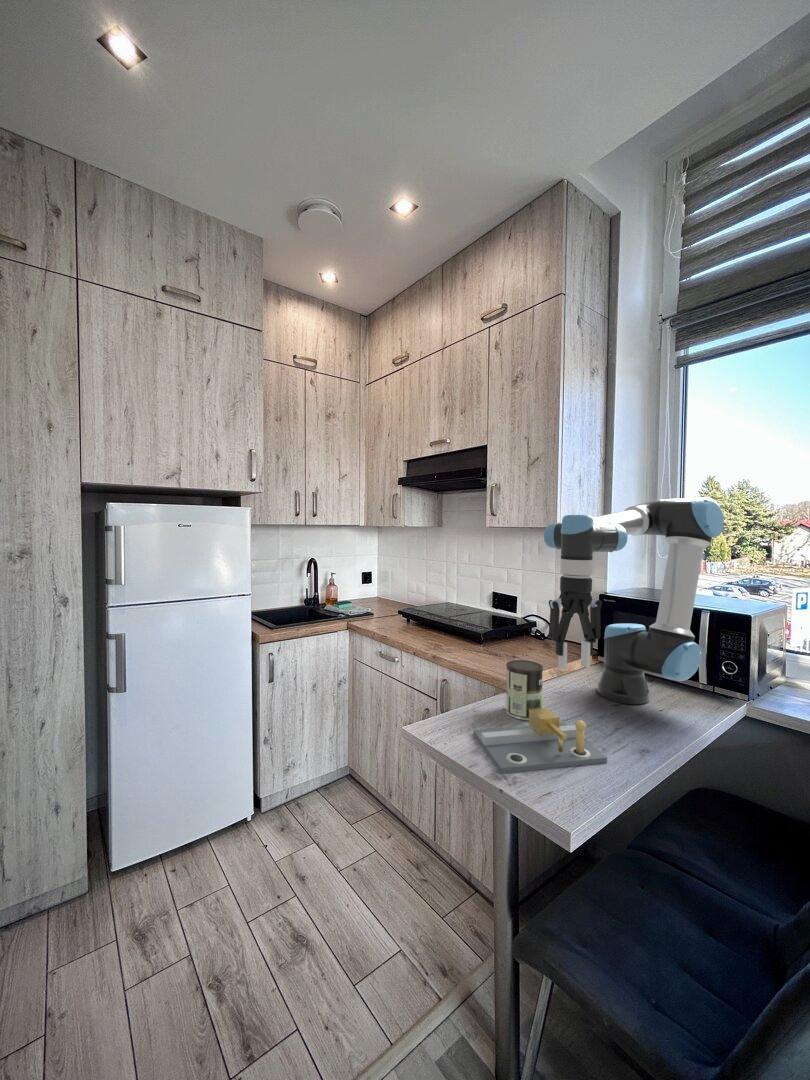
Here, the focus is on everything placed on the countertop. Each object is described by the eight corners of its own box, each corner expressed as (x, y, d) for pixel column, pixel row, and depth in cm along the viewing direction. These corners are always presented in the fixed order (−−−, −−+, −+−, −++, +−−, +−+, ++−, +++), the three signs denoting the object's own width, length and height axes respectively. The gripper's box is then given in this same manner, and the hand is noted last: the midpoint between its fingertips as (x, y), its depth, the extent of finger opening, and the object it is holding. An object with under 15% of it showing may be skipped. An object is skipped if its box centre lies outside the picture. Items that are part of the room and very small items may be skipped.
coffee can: (540, 707, 130) (541, 660, 129) (544, 722, 120) (545, 672, 119) (505, 704, 132) (505, 658, 131) (506, 718, 122) (506, 669, 121)
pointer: (546, 728, 112) (547, 707, 112) (574, 753, 99) (574, 730, 99) (528, 729, 111) (529, 708, 111) (554, 755, 98) (554, 731, 98)
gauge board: (564, 726, 117) (565, 694, 117) (607, 762, 99) (608, 725, 99) (473, 734, 112) (473, 701, 112) (501, 773, 95) (501, 734, 94)
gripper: (600, 574, 114) (597, 660, 115) (534, 574, 110) (532, 664, 111) (619, 577, 106) (616, 670, 107) (549, 578, 103) (547, 674, 104)
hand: (573, 666), depth 109 cm, fingers open, 6 cm apart
